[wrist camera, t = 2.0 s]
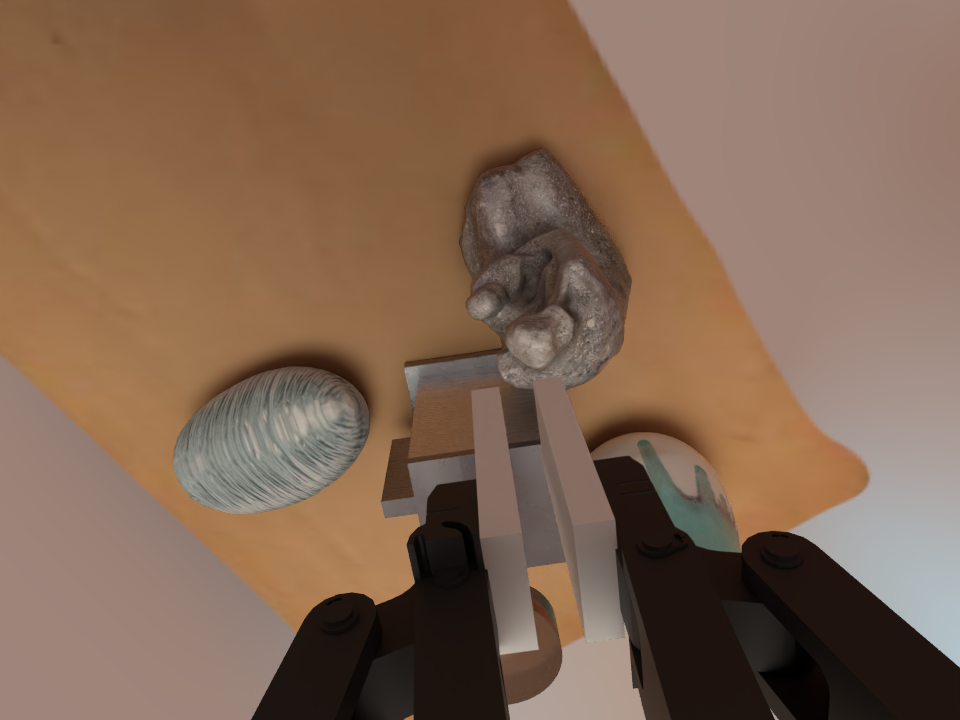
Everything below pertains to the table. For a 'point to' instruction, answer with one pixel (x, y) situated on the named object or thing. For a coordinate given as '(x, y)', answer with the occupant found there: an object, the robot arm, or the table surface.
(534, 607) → the plunger
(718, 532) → the vase
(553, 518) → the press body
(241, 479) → the striped grey egg shape
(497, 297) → the figurine
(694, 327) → the table surface
